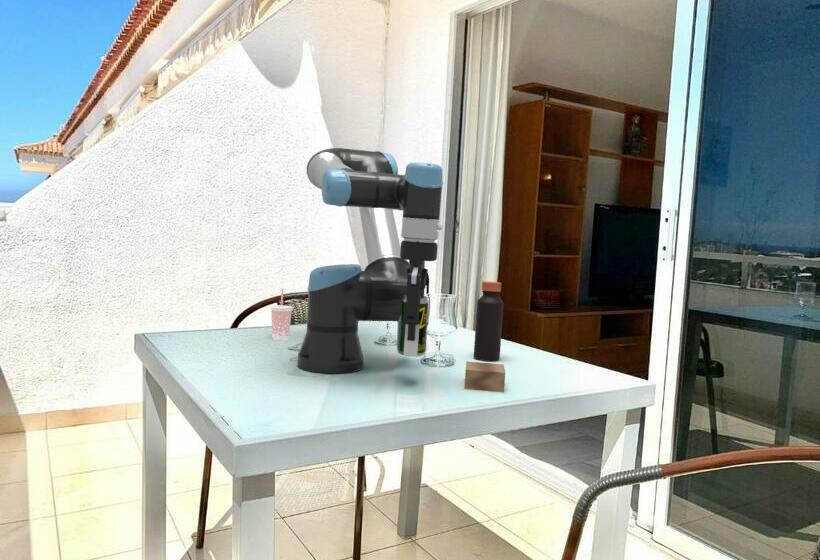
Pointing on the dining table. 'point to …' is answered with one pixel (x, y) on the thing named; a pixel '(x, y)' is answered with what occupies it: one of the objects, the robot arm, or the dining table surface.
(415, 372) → the dining table surface
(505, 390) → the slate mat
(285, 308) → the beverage cup
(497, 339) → the bottle
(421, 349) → the beer can
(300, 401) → the dining table surface
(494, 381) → the walnut block
